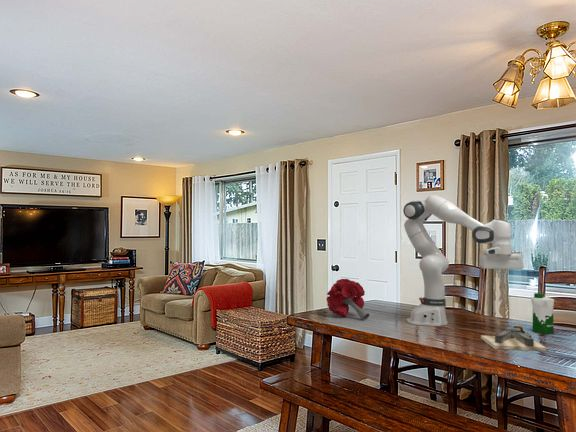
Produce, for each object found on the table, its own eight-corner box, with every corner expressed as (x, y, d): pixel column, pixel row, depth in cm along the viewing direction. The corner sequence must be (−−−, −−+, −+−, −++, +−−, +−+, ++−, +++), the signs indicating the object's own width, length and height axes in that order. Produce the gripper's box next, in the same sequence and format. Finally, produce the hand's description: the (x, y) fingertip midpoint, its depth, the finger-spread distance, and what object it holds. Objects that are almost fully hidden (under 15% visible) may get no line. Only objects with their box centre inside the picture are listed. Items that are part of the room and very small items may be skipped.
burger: (499, 335, 212) (499, 320, 212) (513, 333, 217) (513, 318, 218) (522, 341, 201) (522, 325, 201) (536, 338, 207) (536, 323, 207)
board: (494, 348, 187) (494, 345, 187) (480, 338, 204) (480, 335, 204) (546, 351, 184) (546, 347, 184) (528, 340, 202) (528, 337, 202)
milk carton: (539, 329, 224) (539, 292, 225) (556, 333, 216) (556, 295, 217) (529, 331, 220) (529, 293, 221) (546, 335, 212) (546, 296, 213)
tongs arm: (504, 336, 201) (504, 330, 201) (510, 337, 199) (510, 331, 199) (495, 341, 192) (495, 335, 192) (501, 342, 190) (501, 336, 190)
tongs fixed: (505, 336, 202) (505, 327, 202) (517, 337, 201) (517, 327, 201) (520, 346, 186) (520, 335, 186) (533, 346, 185) (533, 336, 185)
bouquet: (371, 327, 254) (339, 297, 274) (385, 297, 245) (351, 268, 264) (348, 335, 240) (316, 303, 260) (362, 303, 231) (328, 273, 251)
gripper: (520, 250, 214) (520, 277, 214) (478, 250, 217) (478, 276, 217) (525, 251, 208) (526, 279, 208) (483, 250, 211) (483, 278, 210)
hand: (501, 277), depth 212 cm, fingers closed
